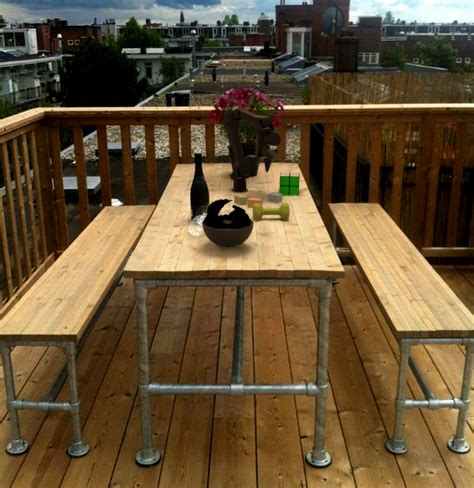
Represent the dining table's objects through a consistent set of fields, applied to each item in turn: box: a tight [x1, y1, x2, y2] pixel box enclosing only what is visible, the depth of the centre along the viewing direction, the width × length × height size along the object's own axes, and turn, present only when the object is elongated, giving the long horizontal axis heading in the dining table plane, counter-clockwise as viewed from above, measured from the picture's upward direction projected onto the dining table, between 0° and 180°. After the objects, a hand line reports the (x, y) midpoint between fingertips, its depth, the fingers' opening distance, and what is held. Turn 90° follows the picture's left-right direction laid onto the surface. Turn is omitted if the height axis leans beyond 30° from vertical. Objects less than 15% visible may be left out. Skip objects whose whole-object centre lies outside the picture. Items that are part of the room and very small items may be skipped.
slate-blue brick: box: [267, 191, 283, 204], centre depth 310 cm, size 6×4×4 cm, turn 48°
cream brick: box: [247, 187, 263, 198], centre depth 318 cm, size 6×4×4 cm, turn 48°
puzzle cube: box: [278, 171, 301, 196], centre depth 324 cm, size 10×10×10 cm
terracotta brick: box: [247, 197, 263, 209], centre depth 300 cm, size 6×4×4 cm, turn 73°
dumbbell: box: [252, 202, 291, 221], centre depth 282 cm, size 16×8×7 cm, turn 92°
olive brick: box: [233, 193, 248, 206], centre depth 306 cm, size 6×4×4 cm, turn 28°
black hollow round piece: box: [201, 198, 255, 249], centre depth 245 cm, size 20×20×19 cm
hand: (261, 173), depth 313 cm, fingers open, 9 cm apart
